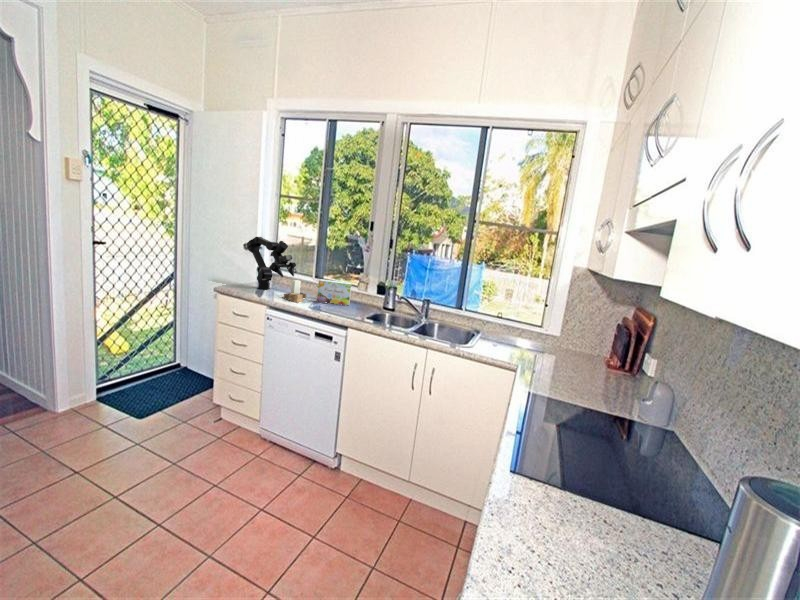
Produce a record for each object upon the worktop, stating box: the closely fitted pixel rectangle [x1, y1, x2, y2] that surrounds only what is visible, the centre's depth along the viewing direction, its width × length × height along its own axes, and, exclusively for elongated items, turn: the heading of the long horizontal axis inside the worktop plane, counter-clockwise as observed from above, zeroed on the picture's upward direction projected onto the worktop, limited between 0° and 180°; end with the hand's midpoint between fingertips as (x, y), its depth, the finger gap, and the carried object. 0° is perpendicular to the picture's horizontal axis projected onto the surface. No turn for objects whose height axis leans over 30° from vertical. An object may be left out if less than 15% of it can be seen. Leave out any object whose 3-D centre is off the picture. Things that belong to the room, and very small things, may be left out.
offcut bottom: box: [288, 297, 304, 304], centre depth 244 cm, size 8×5×2 cm, turn 56°
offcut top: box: [289, 292, 303, 299], centre depth 243 cm, size 7×4×2 cm, turn 62°
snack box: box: [316, 278, 352, 306], centre depth 251 cm, size 21×6×15 cm, turn 92°
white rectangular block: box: [290, 279, 302, 294], centre depth 252 cm, size 3×5×12 cm, turn 147°
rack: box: [283, 291, 307, 300], centre depth 253 cm, size 6×14×3 cm, turn 147°
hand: (288, 276), depth 255 cm, fingers open, 9 cm apart
